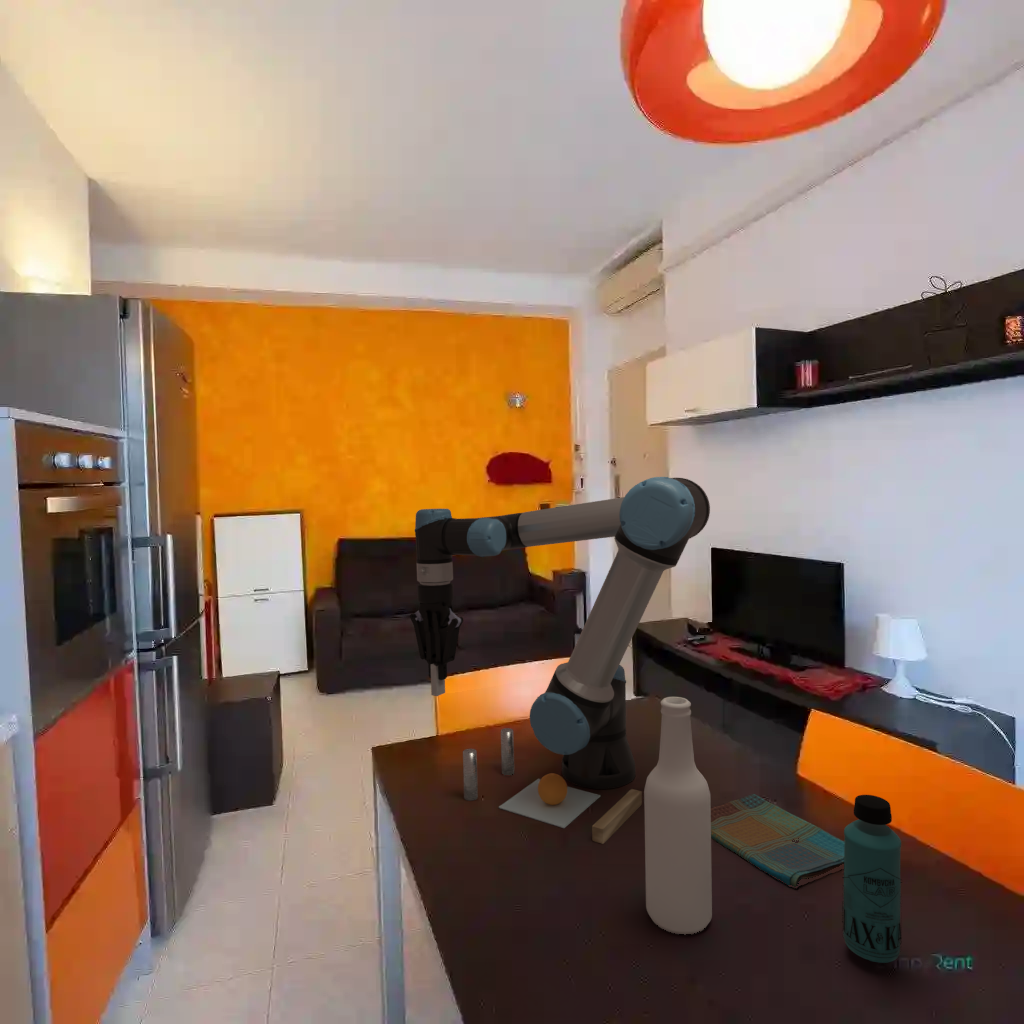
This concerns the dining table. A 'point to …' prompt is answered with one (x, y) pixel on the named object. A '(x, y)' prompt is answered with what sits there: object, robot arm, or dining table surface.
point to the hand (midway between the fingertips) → (438, 693)
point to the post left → (470, 774)
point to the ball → (552, 789)
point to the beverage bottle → (872, 882)
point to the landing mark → (557, 814)
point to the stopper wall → (616, 816)
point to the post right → (507, 751)
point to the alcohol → (677, 829)
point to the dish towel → (775, 839)
